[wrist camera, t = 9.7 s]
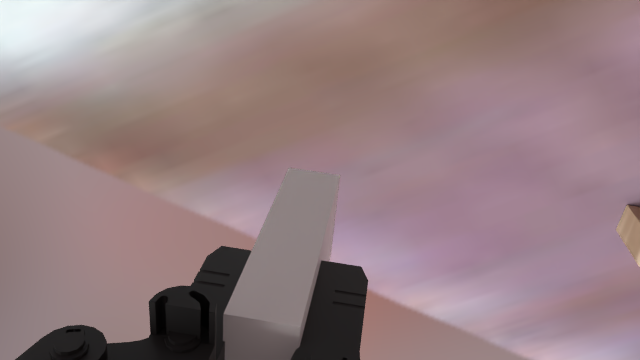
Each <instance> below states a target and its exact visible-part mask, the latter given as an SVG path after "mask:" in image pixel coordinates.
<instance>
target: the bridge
mask: <svg viewBox="0 0 640 360" xmlns="http://www.w3.org/2000/svg"><path fill="white" fill-rule="evenodd" d="M616 231H617V232H618V234H619V235H620V237H621V238H622V240H623V242H624V243H625V245H626V246H627V248H628V250H629V251H630V253H631V254H632V256H633V257H634V259H635V261H636V262H637V264H638V265H639V267H640V207H636V206H631V205H627V206H626V208H625V210H624V213H623V215H622V217H621V219H620V222H619V224H618V226H617V229H616Z"/></svg>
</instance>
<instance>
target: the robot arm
mask: <svg viewBox="0 0 640 360" xmlns="http://www.w3.org/2000/svg"><path fill="white" fill-rule="evenodd" d="M339 181H340V175H336V174H329V173H322V172H315V171H308V170H301V169H295V168H289V169H288V171H287V173H286V175H285V178H284V180H283V182H282V184H281V187H280V189H279V191H278V193H277V195H276V198H275V200H274V202H273V204H272V207H271V209H270V211H269V213H268V216H267V218H266V220H265V222H264V224H263V227H262V229H261V231H260V233H259V236H258V238H257V240H256V242H255V245H254V247H253V249H252V251H250V250H244V249H238V248H231V247H225V246H221V247H220V248H219V249H217V250H215V251H214V252H213V253H211V254H210V255H208V256H207V258H206V260H205V262H204V263H203V265H202V267H201V269H200V272H198V274H197V276H196V278H195V279H194V283H192V285H191V286H177V287H172V288H167V289H165V290H163V291H161V292H159V293H158V294H156V295H155V296H154V297H153V298H152V299H151V300H150V301H149V311H150V331H151V334H150V336H149V338H146V339H144V340H140V341H133V342H124V343H110V344H107V341H106V339H105V337H104V335H103V333H102V332H100V331H99V330H97V329H96V328H94V327H89V326H84V325H75V326H66V327H63V328H60V329H57V330H54V331H52V332H51V333H49V334H47V335H46V336H44V337H43V338H41V339H40V340H39V341H38V342H37V343H35V344H34V345H33V346H32V347H30V348H29V349H28V350H27V351H25V352H24V353H23V354H22V355H20V356H19V357H18V358H17V359H15V360H360V353H359V351H360V343H361V335H362V334H361V333H362V326H363V318H364V309H365V301H366V293H367V285H368V280H367V277H366V275H365V273H364V271H363V269H362V267H360V266H353V265H347V264H341V263H335V262H329V260H330V256H331V249H332V241H333V232H334V224H335V215H336V207H337V198H338V190H339Z"/></svg>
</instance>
